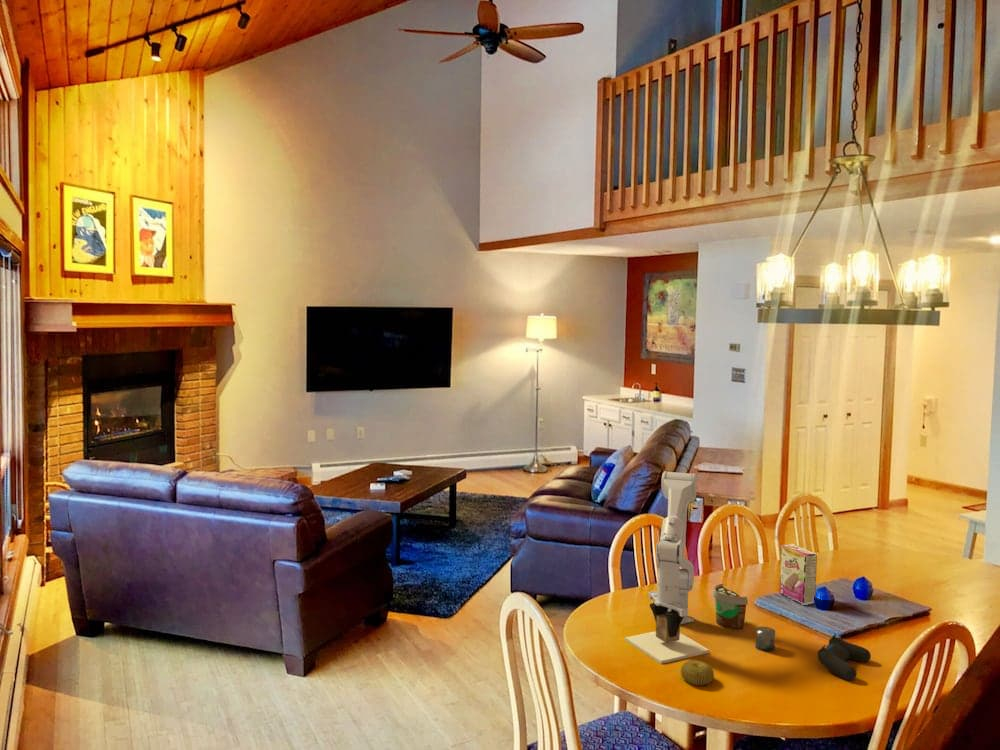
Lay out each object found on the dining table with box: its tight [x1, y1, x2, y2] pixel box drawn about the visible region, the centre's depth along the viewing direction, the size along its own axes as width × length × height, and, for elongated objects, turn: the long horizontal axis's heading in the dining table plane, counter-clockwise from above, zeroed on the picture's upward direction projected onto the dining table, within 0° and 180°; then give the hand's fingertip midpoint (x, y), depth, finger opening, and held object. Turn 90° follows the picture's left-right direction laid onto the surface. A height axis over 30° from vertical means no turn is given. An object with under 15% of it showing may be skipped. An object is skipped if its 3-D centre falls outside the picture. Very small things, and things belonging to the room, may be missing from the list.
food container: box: [712, 583, 749, 631], centre depth 231 cm, size 12×6×10 cm, turn 21°
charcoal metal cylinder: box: [754, 626, 776, 653], centre depth 215 cm, size 5×5×5 cm
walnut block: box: [655, 614, 681, 643], centre depth 215 cm, size 4×4×6 cm
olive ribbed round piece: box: [680, 660, 715, 686], centre depth 196 cm, size 8×4×8 cm
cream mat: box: [624, 630, 710, 665], centre depth 216 cm, size 16×16×1 cm
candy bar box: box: [779, 543, 818, 603], centre depth 251 cm, size 11×5×16 cm, turn 22°
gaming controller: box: [817, 633, 872, 681], centre depth 205 cm, size 17×6×10 cm
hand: (666, 632), depth 215 cm, fingers closed on walnut block, 4 cm apart
